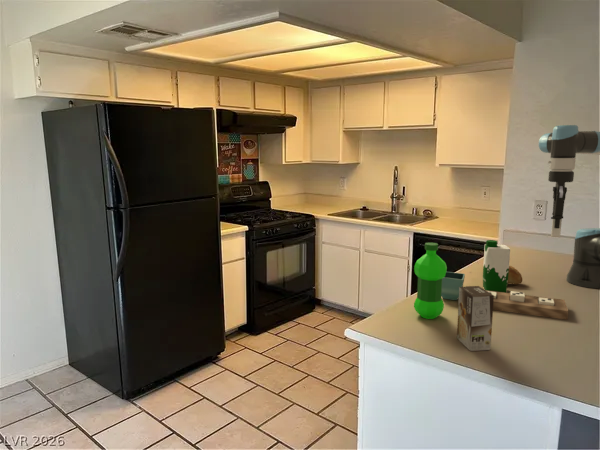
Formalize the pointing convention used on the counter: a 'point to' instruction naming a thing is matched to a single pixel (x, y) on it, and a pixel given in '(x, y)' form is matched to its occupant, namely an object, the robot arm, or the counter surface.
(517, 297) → the button three
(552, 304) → the button two
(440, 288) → the plastic bottle
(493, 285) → the milk carton
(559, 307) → the button panel
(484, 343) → the coffee box
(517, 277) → the bread roll
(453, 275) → the flower pot
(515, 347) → the counter surface
